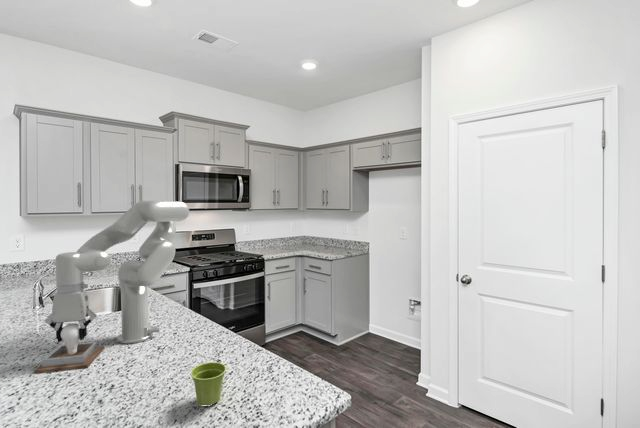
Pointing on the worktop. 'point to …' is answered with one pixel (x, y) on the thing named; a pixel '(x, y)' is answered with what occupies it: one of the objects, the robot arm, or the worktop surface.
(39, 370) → the socket base
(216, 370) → the plant pot
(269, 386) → the worktop surface
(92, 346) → the square picture frame
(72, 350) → the lightbulb
